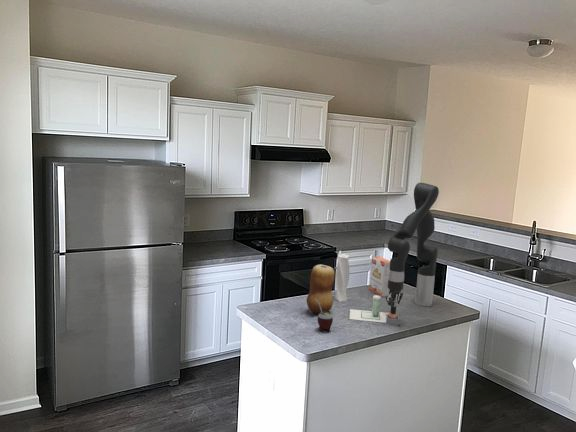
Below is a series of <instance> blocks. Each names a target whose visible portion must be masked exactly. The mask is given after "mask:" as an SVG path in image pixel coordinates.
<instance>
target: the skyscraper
mask: <svg viewBox="0 0 576 432" xmlns="http://www.w3.org/2000/svg"><path fill="white" fill-rule="evenodd" d="M337 254H338V255H337V259H338V260H337V264H336V270H335V286H336V293H335V296H334V299H335V300H336V301H338V302H348V297H347V289H348V285H349V281H350V273H351V272H350V271H351V270H350V262H349V259H350V257H351V255H350V254H349V255H347V254H345V253H344V254H343V253H342V250H339V252H338V253H337Z"/></svg>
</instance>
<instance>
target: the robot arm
mask: <svg viewBox="0 0 576 432" xmlns="http://www.w3.org/2000/svg"><path fill="white" fill-rule="evenodd" d="M439 193H440V191H439V187H438V186H436V185H433V184H430V183H425V182H417V183H416V184H415V186H414V189H413V200H414V207H415V210H414V211H413V212H411V213H409V214H408V215H407V216H406V217H405V219H404V220H403V221H402V224H401V226H400V228H399V229H398V230H397V231H396V232H395V233H394V235H392V236H391V237H390V239H389V240H388V242H387V249H388V251H390V252H391V253H395V254H398V255H397V256H396V257H391V258H390V260H389V261H390V269H389V275H388V288H389V290H390V291H389V296H387V297H385V301H386V302H387V305H388V306H390V311H389V312H390V313H392V314H395V313H397V307H398V305H400V304H401V301H402V298H403V296H404V293H403V292H402V290H404V282H405V266H406V265H405V264H406V261H407V258H408V256H409V253H410V249H411V246H410V242H409V241H408V240H406V239H411V238H412V237H413V236H414V235H415V232H416V241H417V242H416V259H417V260H418V261H420V262H425V263H429V264H428V265H426V266H421V267H418V269H417V277H416V278H417V279H416V288H415V299H414V300H415V301H414V303H415V304H416V305H418V306H422V307H430V306H432V305H433V300H434V299H433V298H434V288H435V276H436V269H437V261H438V254H439V253H438V252H439V251H438V247H437V246H433V245H429V244H427V245H426V244H425V243H426V241H427V240H428V239H429V238H430V237H431V236H432V235H433V234H434V231H435V229H436V228H435V218H434V215H433V214H432V212H431V210H430V209H431V208H432V207H433V205H434V204H435V202H436V201H437V199H438V197H439Z"/></svg>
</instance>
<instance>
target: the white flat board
mask: <svg viewBox="0 0 576 432" xmlns="http://www.w3.org/2000/svg"><path fill="white" fill-rule="evenodd" d="M389 312H390V311H389ZM389 312H387V311H380V312H379V317H373V314H372V310H367V309H360V308H359V309H358V308H357V309H356V308H348V321H349V320H350V321H360V322H368V323H378V324H389V325H395V326H396V327H400V326H401V323H400V316H399V313H398V312H396V313H397V319H395V318H388V317H389Z"/></svg>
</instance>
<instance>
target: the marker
mask: <svg viewBox="0 0 576 432" xmlns="http://www.w3.org/2000/svg"><path fill="white" fill-rule="evenodd" d="M381 300H382V297H381V296H379V295H378V294H375V295H373V297H372V307H371V308H372V310H371V311H372V314H373V317H379V312H381V311H380V310H381Z"/></svg>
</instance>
